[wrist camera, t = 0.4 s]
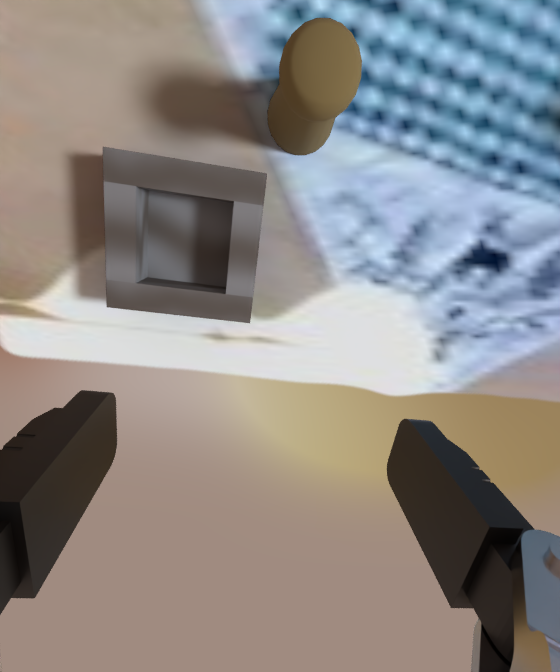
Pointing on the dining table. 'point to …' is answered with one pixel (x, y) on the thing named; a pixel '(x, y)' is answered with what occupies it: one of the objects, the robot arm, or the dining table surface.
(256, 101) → the dining table surface
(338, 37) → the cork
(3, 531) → the robot arm
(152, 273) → the square holder
